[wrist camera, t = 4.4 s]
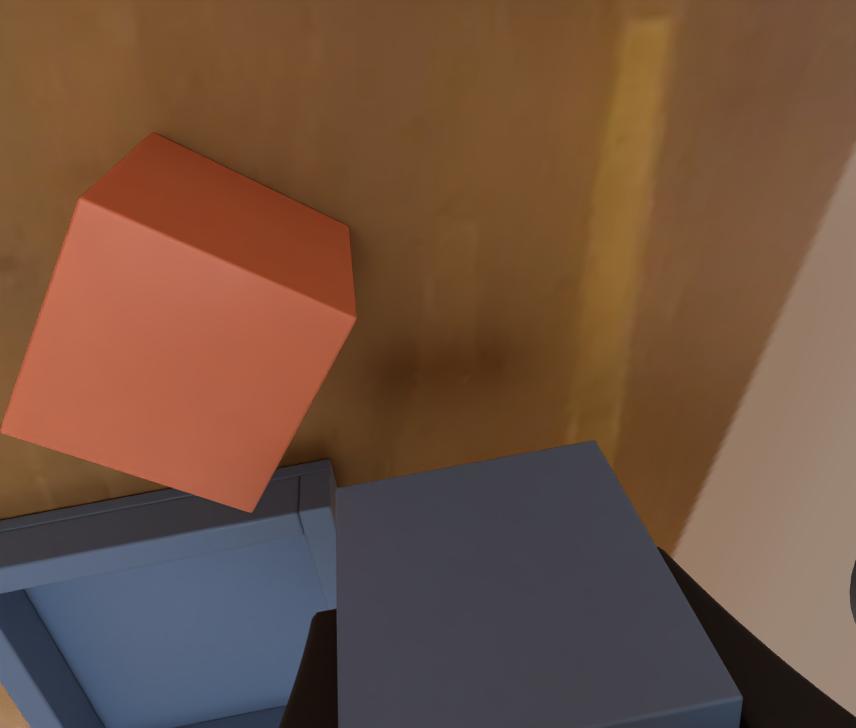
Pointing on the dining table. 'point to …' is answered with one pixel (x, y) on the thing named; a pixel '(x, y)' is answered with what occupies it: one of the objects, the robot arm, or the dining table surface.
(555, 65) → the dining table surface
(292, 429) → the terracotta block
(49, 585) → the slate tray
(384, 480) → the slate block
